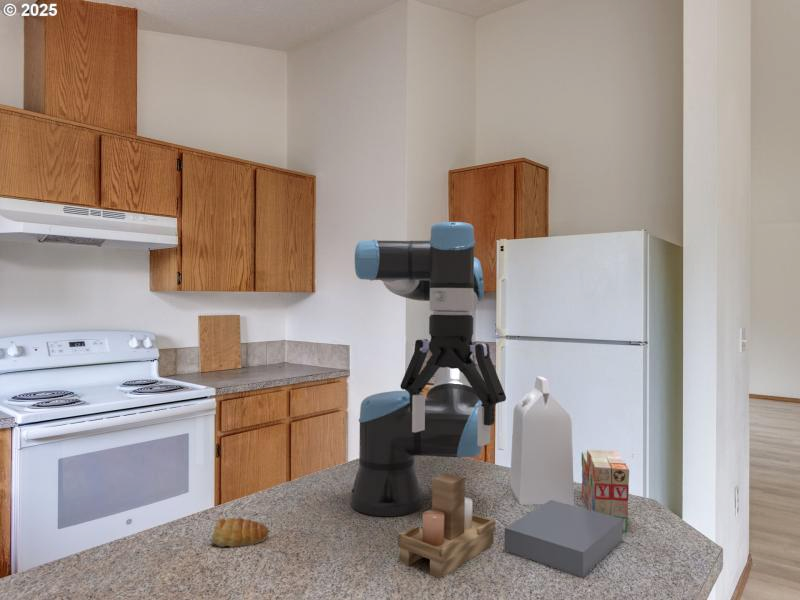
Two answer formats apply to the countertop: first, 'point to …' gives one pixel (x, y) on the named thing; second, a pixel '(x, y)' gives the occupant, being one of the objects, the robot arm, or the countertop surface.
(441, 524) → the brown egg
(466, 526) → the white egg
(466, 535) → the carrier tray
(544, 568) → the countertop surface
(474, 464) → the countertop surface
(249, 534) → the pastry
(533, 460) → the milk
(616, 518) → the dock
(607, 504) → the stack of blocks
